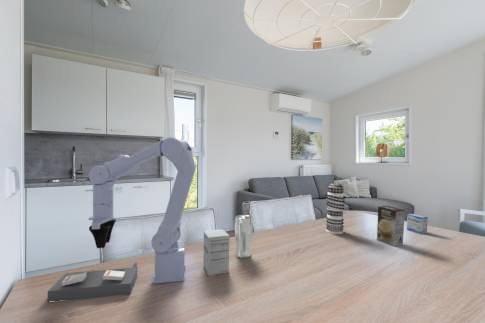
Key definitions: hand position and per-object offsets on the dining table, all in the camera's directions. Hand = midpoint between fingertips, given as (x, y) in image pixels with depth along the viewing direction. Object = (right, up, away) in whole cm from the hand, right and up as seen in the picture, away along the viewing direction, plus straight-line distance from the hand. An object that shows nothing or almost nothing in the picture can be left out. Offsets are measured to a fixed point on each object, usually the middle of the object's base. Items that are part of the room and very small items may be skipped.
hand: (103, 245), depth 79 cm
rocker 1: (-1, -6, -11) cm, 13 cm away
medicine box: (+138, -11, +52) cm, 147 cm away
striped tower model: (+93, -10, +49) cm, 106 cm away
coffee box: (+113, -11, +34) cm, 119 cm away
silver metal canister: (+45, -10, +17) cm, 49 cm away
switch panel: (+2, -10, -4) cm, 11 cm away
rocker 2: (+8, -6, -9) cm, 13 cm away
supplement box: (+36, -10, +5) cm, 37 cm away
